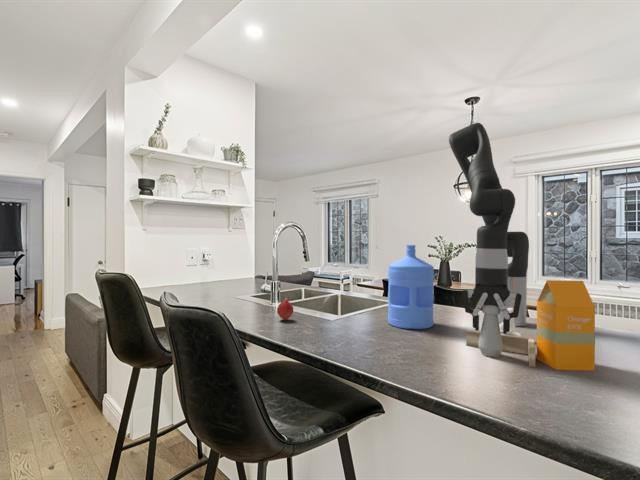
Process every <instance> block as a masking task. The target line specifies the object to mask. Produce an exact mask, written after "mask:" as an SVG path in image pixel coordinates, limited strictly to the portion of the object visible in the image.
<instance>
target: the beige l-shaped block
mask: <svg viewBox="0 0 640 480" xmlns="http://www.w3.org/2000/svg"><path fill="white" fill-rule="evenodd" d="M480 333H481V331H477V330H469V329H468V330H467V329H466V332H465V335H466V336H465V343H466V344H465V345H466V346H469V347H474V348H479V346H478V342H479V337H480ZM501 337H502V342H503V350H502V352H511V353H517V354H522V355H523V354H526V355H528V367H533V368H536V346H535V345H536V344H535V340H534V338H533V337H525V336H523V337H518V336H510V335H502V334H501Z"/></svg>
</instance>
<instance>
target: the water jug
mask: <svg viewBox="0 0 640 480" xmlns="http://www.w3.org/2000/svg"><path fill="white" fill-rule="evenodd" d="M405 251H406V256H405V257H402V258H401V259H399V260H397V261H394V262H392V263H390V264H389V265H388V271H387V272H388V273H387V275H388V276H387V277H388V289H387V290H388V292H387V300H388V308H387V309H388V310H387V311H388V315H387V323H388V324H389V325H391V326H392V327H395V328H399V329H406V330H427V329H430V328H431V327H433V326H434V322H435V319H434V301H435V300H434V299H435V297H434V296H435V295H434V278H435V271H434V270H435V269H434V268H435V267H434V265H432V264H431V263H428V262H426V261H424V260H422V259H421V258H418V257H417V256H416V244H415V245H414V244H409V245H408V244H406V250H405Z"/></svg>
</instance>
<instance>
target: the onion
mask: <svg viewBox="0 0 640 480" xmlns="http://www.w3.org/2000/svg"><path fill="white" fill-rule="evenodd" d="M276 309H277V311H276V312H277V314H278V316H279V317H280V318H281V319H282V320H283V321H287V320H289V318H290V317H291V316H292V315H293V314H294V306H293V305H292V303H291V302H289V301H288V298H284V300H282V301H281V302H280V303H279V304H278V306H277V308H276Z"/></svg>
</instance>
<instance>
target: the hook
mask: <svg viewBox="0 0 640 480" xmlns="http://www.w3.org/2000/svg"><path fill="white" fill-rule="evenodd" d="M507 310H508V312H509V313H510V312H513V308H507ZM499 327H500V332H501V334H502V335H510V336H518V337H524V335H523V334H522V333H520V332H516V331H515V330H516V326H515V324H514V318H511V319H510V330H509V332H507V334H503V322H502V323H501V324H500V323H499Z"/></svg>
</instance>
